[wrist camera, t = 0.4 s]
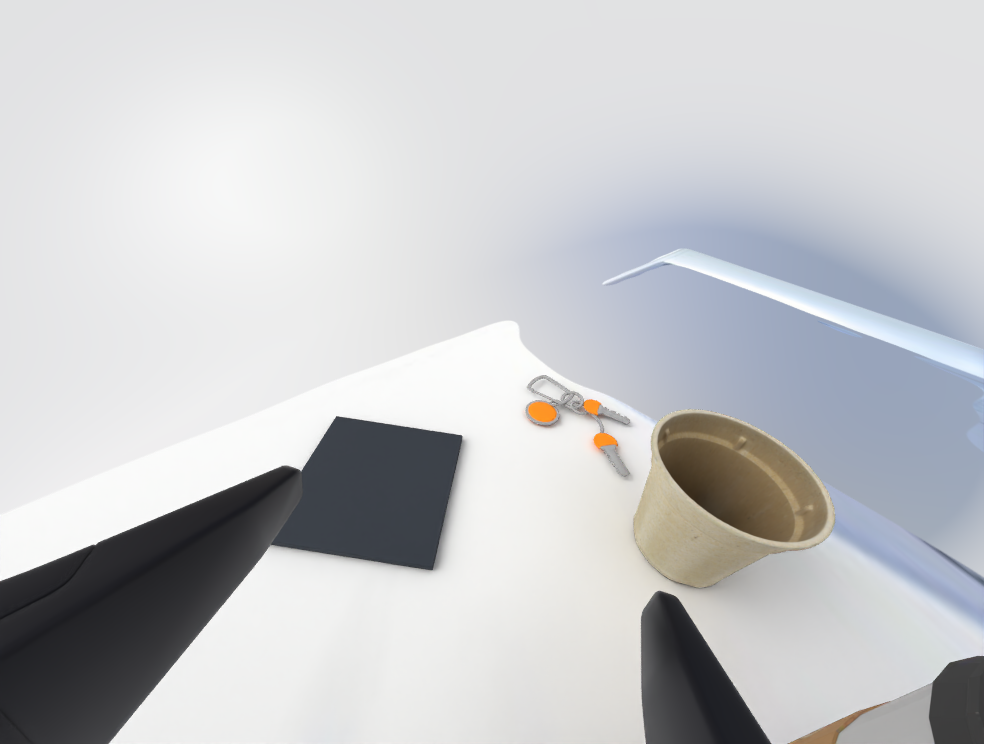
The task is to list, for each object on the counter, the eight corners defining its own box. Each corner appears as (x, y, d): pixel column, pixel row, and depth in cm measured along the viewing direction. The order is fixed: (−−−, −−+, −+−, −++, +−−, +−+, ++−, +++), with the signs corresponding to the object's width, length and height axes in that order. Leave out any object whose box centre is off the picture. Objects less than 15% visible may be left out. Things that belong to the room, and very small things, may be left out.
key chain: (503, 402, 35) (504, 396, 35) (546, 372, 40) (547, 366, 40) (622, 483, 29) (626, 477, 29) (656, 437, 34) (660, 431, 33)
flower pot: (589, 555, 25) (633, 477, 19) (629, 466, 31) (671, 389, 26) (741, 654, 21) (846, 592, 16) (750, 529, 27) (827, 456, 22)
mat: (432, 570, 23) (432, 567, 22) (260, 543, 23) (257, 539, 23) (462, 439, 31) (462, 435, 31) (337, 420, 32) (336, 415, 31)
